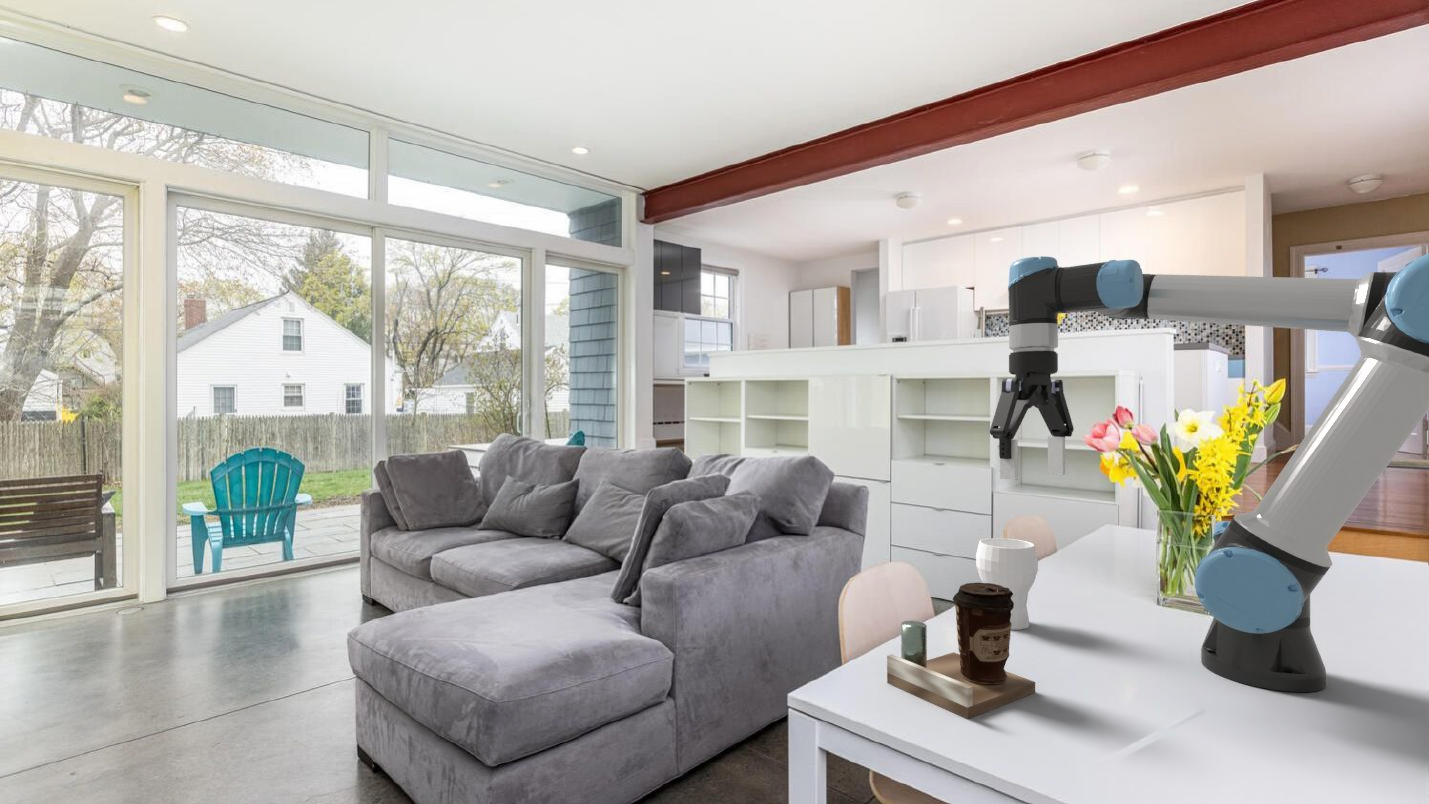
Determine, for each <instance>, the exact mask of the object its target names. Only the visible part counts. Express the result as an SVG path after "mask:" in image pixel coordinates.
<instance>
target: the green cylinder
mask: <svg viewBox="0 0 1429 804" xmlns="http://www.w3.org/2000/svg"><path fill="white" fill-rule="evenodd" d="M900 627H901V628H900V629H901V631H900V632H901V633H900V635H901V637H900V641H901V645H900V646H901V649H900V653H901V655H900V656H901V657H900V658H902V659H905V660H907V661H910V662H912V663H915V664H917V665H920V666H922V667H925V668H927V660H928V657H927V656H928V655H927V654H928V649H927V648H928V647H927V645H928V644H927V642H928V639H927V638H928V637H927V635H928V634H927V632H928V631H927V630H928V629H927V627H928V626H927V624H926V623H924V622H921V621H917V620H904V621H902V622H901V624H900Z"/></svg>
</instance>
